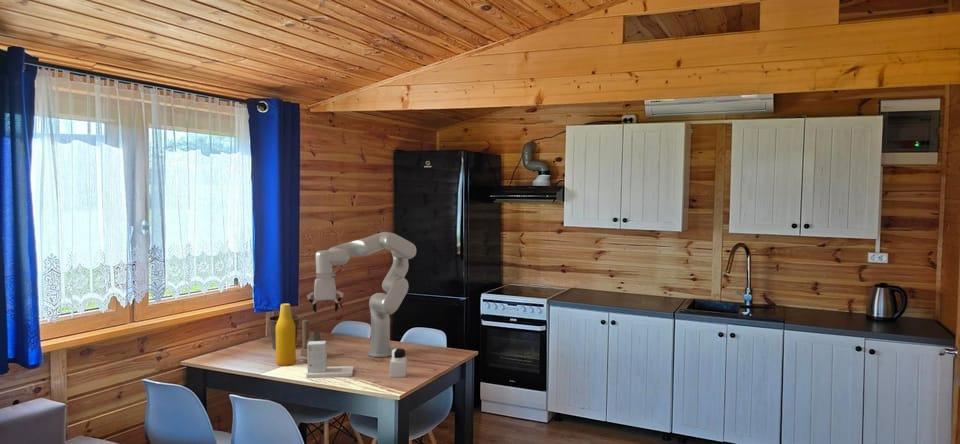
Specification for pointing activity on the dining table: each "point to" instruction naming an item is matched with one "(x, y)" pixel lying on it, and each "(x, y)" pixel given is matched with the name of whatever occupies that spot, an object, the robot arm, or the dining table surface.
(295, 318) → the plant pot
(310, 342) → the small box
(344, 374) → the board
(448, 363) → the dining table surface
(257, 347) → the dining table surface
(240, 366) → the dining table surface
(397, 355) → the medicine bottle
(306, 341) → the wooden block
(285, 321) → the beer bottle
